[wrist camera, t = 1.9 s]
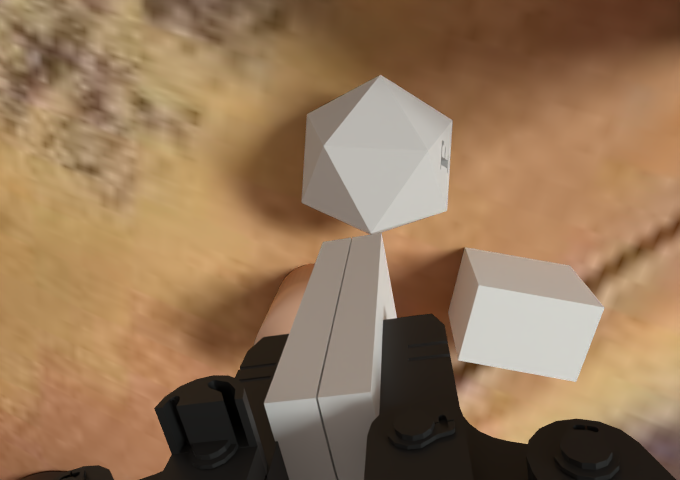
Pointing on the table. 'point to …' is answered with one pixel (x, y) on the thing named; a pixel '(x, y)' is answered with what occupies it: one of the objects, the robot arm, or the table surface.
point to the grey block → (522, 314)
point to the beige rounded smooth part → (286, 303)
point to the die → (377, 158)
